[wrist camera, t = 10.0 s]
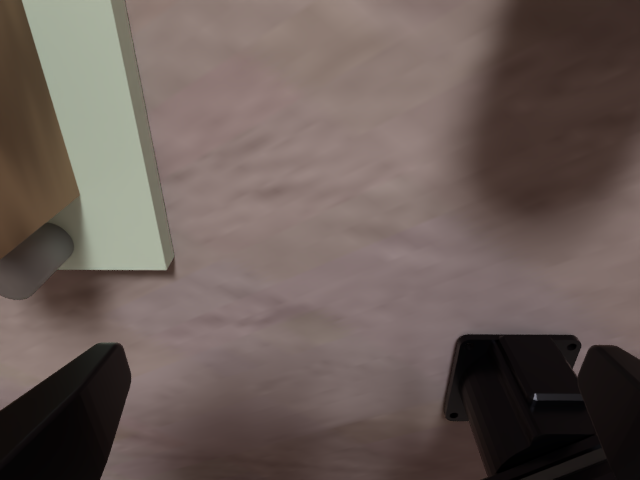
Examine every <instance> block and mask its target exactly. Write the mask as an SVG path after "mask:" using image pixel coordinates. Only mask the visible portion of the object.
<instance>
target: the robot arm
mask: <svg viewBox="0 0 640 480" xmlns="http://www.w3.org/2000/svg"><path fill="white" fill-rule="evenodd" d="M467 343H470V344H469V345H466V344H467ZM569 344H570V345H569ZM580 348H581V343H580V341H579V340H578V338H577V337H576V336H574V335H476V334H468V335H464V336H462V337H461V338H459V340H458V344H457V348H456V353H455V358H454V363H453V368H452V373H451V378H450V383H449V388H448V393H447V398H446V403H445V407H444V413H445V417H446V418H447V419H448V420H450V421H469V423H470V426H471V429H472V432H473V435H474V438H475V441H476V444H477V447H478V450H479V453H480V455H481V458H482V461H483V464H484V467H485V470H486V473H487V476H488V477H487V478H484V479H482V480H640V360H639V359H638V358H636V357H634V356H633V355H631V354H629V353H628V352H626V351H624V350H623V349H621V348H619V347H617V346H614V345H594V346H591V347H590V348H589V350H588V351H587V354H586V356H585V359H584V361H583V364H582V366H581V369H580V371H579V374H578V377H577V375H576V374H575V372H574V371H573V366H574V364H575V361H576V359H577V356H578V354H579V351H580ZM130 384H131V372H130V368H129V365H128V362H127V358H126V355H125V351H124V348H123V346H122V345H121V344H120V343H98V344H96V345H94V346H93V347H91V348H90V349H88V350H87V351H85V352H84V353H83V354H81V355H80V356H78V357H77V358H75V359H74V360H73V361H71V362H70V363H68V364H67V365H65V366H64V367H62V368H61V369H60V370H58V371H57V372H55V373H54V374H52V375H51V376H49V377H48V378H47V379H45V380H44V381H42V382H41V383H39V384H38V385H36V386H35V387H34V388H32V389H31V390H29V391H28V392H26V393H25V394H24V395H22V396H21V397H19V398H18V399H16V400H15V401H13V402H12V403H11V404H9V405H8V406H6V407H5V408H3V409H2V410H0V480H100V478H101V476H102V473H103V471H104V468H105V465H106V463H107V460H108V457H109V454H110V451H111V448H112V444H113V441H114V438H115V435H116V431H117V428H118V425H119V421H120V418H121V415H122V411H123V408H124V405H125V401H126V398H127V395H128V391H129V388H130Z"/></svg>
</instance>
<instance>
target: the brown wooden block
mask: <svg viewBox="0 0 640 480" xmlns="http://www.w3.org/2000/svg"><path fill="white" fill-rule="evenodd" d="M79 196H80V192H79V189H78V186H77V182H76V179H75V176H74V172H73V169H72V166H71V162H70V159H69V156H68V152H67V149H66V146H65V142H64V139H63V136H62V132H61V129H60V126H59V122H58V119H57V116H56V112H55V109H54V106H53V102H52V99H51V96H50V92H49V89H48V86H47V82H46V79H45V76H44V72H43V69H42V66H41V63H40V59H39V56H38V53H37V49H36V46H35V43H34V39H33V36H32V33H31V29H30V26H29V23H28V19H27V16H26V13H25V9H24V6H23V3H22V0H0V259H2V258H3V257H4V256H5V255H7V254H8V253H9V252H10V251H12V250H13V249H14V248H15V247H17V246H18V245H19V244H20V243H22V242H23V241H24V240H25V239H26V238H28V237H29V236H30V235H31V234H33V233H34V232H35V231H36V230H38V229H39V228H40V227H41V226H43V225H44V224H45V223H46V222H48V221H49V220H50V219H51V218H53V217H54V216H55V215H56V214H58V213H59V212H60V211H61V210H62V209H64V208H65V207H66V206H67V205H69V204H70V203H71V202H72V201H74V200H75V199H76V198H77V197H79Z"/></svg>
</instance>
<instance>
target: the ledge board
mask: <svg viewBox="0 0 640 480" xmlns="http://www.w3.org/2000/svg"><path fill="white" fill-rule="evenodd" d="M22 3H23V6H24V9H25V13H26V16H27V19H28V23H29V26H30V29H31V33H32V36H33V39H34V43H35V46H36V49H37V53H38V56H39V59H40V63H41V66H42V69H43V72H44V76H45V79H46V82H47V86H48V89H49V92H50V96H51V99H52V102H53V106H54V109H55V112H56V116H57V119H58V122H59V126H60V129H61V132H62V136H63V139H64V142H65V146H66V149H67V152H68V156H69V159H70V162H71V166H72V169H73V172H74V176H75V179H76V182H77V186H78V189H79V192H80V196H79V197H77V198H76V199H75V200H74V201H72V202H71V203H70V204H69V205H67V206H66V207H65V208H64V209H62V210H61V211H60V212H59V213H58V214H56V215H55V216H54V217H53V218H51V219H50V220H49V221H48V222H46V223H45V224H44V225H43V226H41V227H40V228H39V229H38V230H36V231H35V232H34V233H33V234H31V235H30V236H29V237H28V238H26V239H25V240H24V241H23V242H22V243H20V244H19V245H18V246H17V247H15V248H14V249H13V250H12V251H10V252H9V253H8V254H7V255H5V256H4V257H3V258H2V259H0V295H1V296H3V297H5V298H8V299H13V300H23V299H27V298H29V297H30V296H32V295H33V294H34V293H35V292H36V291H37V289H38V288H39V287H40V286H41V285H42V284H43V283H44V282H45V281H46V280H47V279H48V278H49V277H50V276H51V275H52V274H53V273H54V272H55V271H56V270H167V269H168V267H169V265H170V263H171V262H172V260H173V258H174V252H173V247H172V242H171V237H170V232H169V227H168V221H167V216H166V211H165V206H164V201H163V196H162V191H161V185H160V180H159V175H158V170H157V165H156V160H155V154H154V149H153V144H152V139H151V134H150V129H149V124H148V118H147V113H146V108H145V103H144V98H143V93H142V88H141V82H140V77H139V72H138V67H137V62H136V57H135V52H134V46H133V41H132V36H131V31H130V26H129V21H128V15H127V10H126V5H125V0H22Z"/></svg>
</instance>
